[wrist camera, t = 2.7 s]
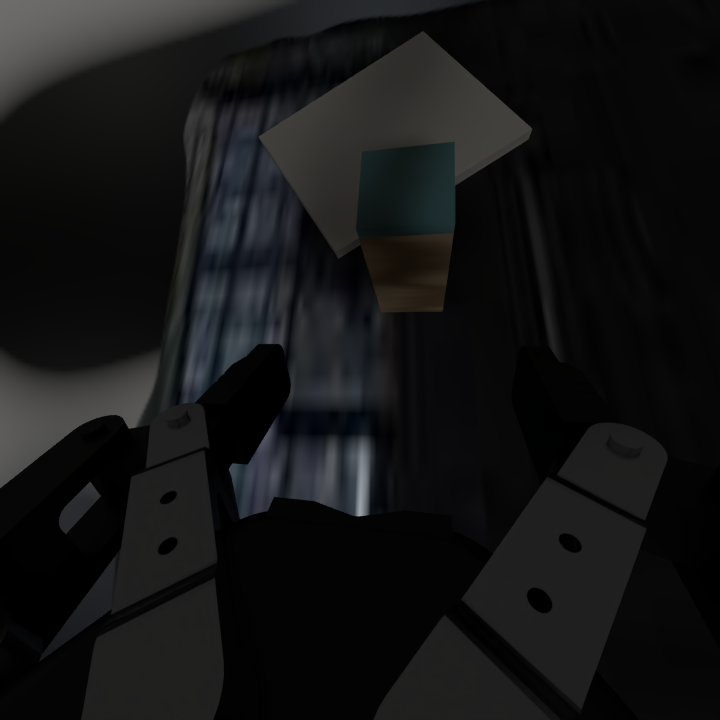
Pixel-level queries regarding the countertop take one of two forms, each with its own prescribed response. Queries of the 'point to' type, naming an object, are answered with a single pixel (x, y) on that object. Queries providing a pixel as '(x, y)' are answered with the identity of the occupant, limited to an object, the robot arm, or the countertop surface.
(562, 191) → the countertop surface
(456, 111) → the cream board
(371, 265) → the brown tall block
